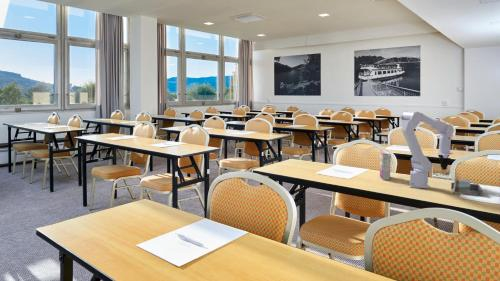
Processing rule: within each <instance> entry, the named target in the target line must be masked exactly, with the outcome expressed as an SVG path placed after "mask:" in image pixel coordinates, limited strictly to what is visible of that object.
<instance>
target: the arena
mask: <svg viewBox="0 0 500 281" xmlns="http://www.w3.org/2000/svg"><path fill="white" fill-rule="evenodd" d="M450 190H451V192H452V191H453V192H452V193H453V195H459V194H463V195H462V196H471V195H476V196H475V197H483V191H484V190H483V188H482V187H481V186H480V185H479V183H478V184H477V183H470V193H464V192H454V182H453V181H452V182H451V183H450Z"/></svg>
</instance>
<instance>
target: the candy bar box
mask: <svg viewBox="0 0 500 281" xmlns="http://www.w3.org/2000/svg"><path fill="white" fill-rule="evenodd" d="M391 155H392V154H391V153H390V152H389V151H388V150H380V152H379V178H380V179H381V178H382V179H383V180H382V179H381V180H382V181H391V161H392V160H391V157H392V156H391Z"/></svg>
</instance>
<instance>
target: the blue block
mask: <svg viewBox="0 0 500 281" xmlns="http://www.w3.org/2000/svg"><path fill="white" fill-rule="evenodd" d="M453 183H454V192H464V193H470V184H471V180H470V179H460V178H459V179H458V178H454V180H453Z"/></svg>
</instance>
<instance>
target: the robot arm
mask: <svg viewBox="0 0 500 281" xmlns="http://www.w3.org/2000/svg"><path fill="white" fill-rule="evenodd" d="M399 120H400V121H401V130H402V131H401V132H402V134H403V136H404V139H405V141H406V143H407V146H408V148H409V150H410V154H411V156H412V157H411V158H410V161H411V167H412V169H413V170H410V172H409V173H410V175H409V180H408V182H409V183H408V184H409V187H410V188H413V189H414V188H415V189H426V190H427V189H429V188H430V187H429V181H428V180H429V173H430V171H431V170H432V168H433V165H432V164H433V163H432V162H431V161H430V159H429V158H428V157H427V156H426V155H424V153H423V150H422V148H421V145H420V143H419V140H418V138H417V135H416V133H415V130H416V128H418V125H419V124H420V123H424V124H426V125H429V127H430V128H431V129H432V130H435V131H437V133H439V141H438V142H439V144H438V154H437V156H438V158H439V163H440V167H441V170H443V171H446V170H448V165H449V162H450V161H451V157H450V155H453V152H451V143H452V142H451V141H452V137H453V133H454V132H455V128H454V126H453V125H452V124H448V123H447V122H446V121H441V119H440V118H432V117H430V116H427V115H425V114H424V113H421V112H419V111H410V110H409V111H408V110H406V111H405V110H404V111H403V112H402V113H401V116H400V118H399Z"/></svg>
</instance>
